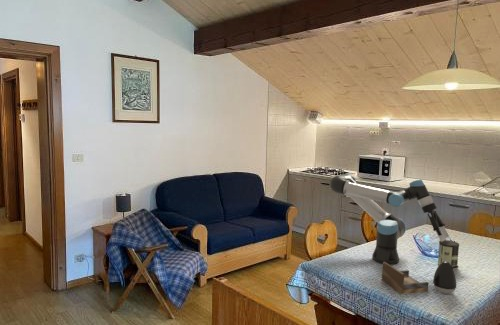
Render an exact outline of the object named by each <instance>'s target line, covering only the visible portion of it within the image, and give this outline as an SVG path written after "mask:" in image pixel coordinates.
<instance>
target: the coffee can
mask: <svg viewBox="0 0 500 325" xmlns="http://www.w3.org/2000/svg"><path fill="white" fill-rule="evenodd" d="M459 247H460V243H458V242H457V241H453V240H447V239H446V240H444V241H442V242H441V241H440V240H439V241H438V256H437V257H438V258H437V267H438V266H439V265H440V263H442V262H449V263H450V264H451V265H452V266H458V263H459V262H458V260H459V251H460V250H459ZM457 269H458V268H455V269H454V270H457Z"/></svg>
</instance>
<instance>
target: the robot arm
mask: <svg viewBox="0 0 500 325" xmlns="http://www.w3.org/2000/svg"><path fill="white" fill-rule="evenodd" d="M329 188H330V190H331V191H332V192H333V193H335V194H338V195H342V196H344V197H346V198H350V199H351V200H352V201H354V202H355V204H357V206H359V207H360V208H361V209H362V210H363V211H364V212H365V213H367V214H368V215H369V216H370V217H371V218H372V219H373V221H375V222H376V223H377V226H376V240H375V242H376V243H375V248H374V250H373V252H372V257H371V258H372V260H373V262H375V263H377V264H381V265H383V262H386V263H388V264H389V265H391V266H393V265H399V263H400V257H399V256H400V255H399V253H398V239H400V238H401V237H403V236H404V235H405V233H406V232H407V231H406V230H407V226H406V223H405V221H404V220H403V219H402V218H400V217H396V216H395V215H394V214H392V213H388V212H387V211H386V210H385V209H383V208H382V207H381V206H380V205H379V204H378V203H377V202H381V203H384V204H388V205H390V206H391V207H394V208H395V207H396V208H397V207H400V206H402V205H403V204H406V203H408V202H410V201H412V200H414V199H416V200H417V202H418V204H419V206H420V207H421V209H422V212H423V213H424V214H426V213H427V217H428V219H429V221H430V224H431V226H432V230H433V231H434V232H435V233H436V235H437V236H438V239H439V241H441V242H442V241H444V240H447V238H449V237H450V235H449V232H448V231H447V229H446V227H445V226H446V225H445V223H444V222H443V220H442V219H441V218H440V216H439V215H438V213H437V210H436V209H437V206H436V204H435V203H434V200H433V196H431V194H430V192H429V191H428V189H427V186H426V184H425V183H424V181H423V179H421V178H420V179H415V180H413V181H411V182H409V186H408V187H406V188H404V189H402V190H399V191H397V192H396V191H392V190H387V189H382V188H378V187H373V186H369V185H364V184H359V183H358V182H357V180H356V178H355V176H353V175H352V174H349V173H342V174H339V175H334V176H333V177H332V178H331V179H330V181H329Z"/></svg>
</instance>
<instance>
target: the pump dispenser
mask: <svg viewBox="0 0 500 325" xmlns="http://www.w3.org/2000/svg"><path fill="white" fill-rule="evenodd" d="M455 268H457V269H459V265H457V266H452V265H451V264H450V263H449V262H442V263H440V265H439V266H438V265H437V268H436V270H435V273H434V274H433V279H432V284H433V287H434V289H435V290H436V292H438V293H441V294H444V295H450V294H453V293H454V292H455V290H456V289H457V276H456V273H455V270H456V269H455Z"/></svg>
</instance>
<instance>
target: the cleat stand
mask: <svg viewBox="0 0 500 325" xmlns="http://www.w3.org/2000/svg"><path fill="white" fill-rule="evenodd" d="M381 271H382V272H381V281H382V282H383V283H385V284H386V285H387V286H388V287H390V288H391V289H392V290H394V291H395V292H397V293H398V294H400V295H406V294H414V293H415V294H416V293H417V294H418V293H427V292H429V282H428V281H421V282H420V281H418V280H416V279H415V278H414V277H412V276H410V270H408V269H405V270H399V269H397V268H396V267H394V266H393V265H389V264H388V263H386V262H383V264H382V268H381Z"/></svg>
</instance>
